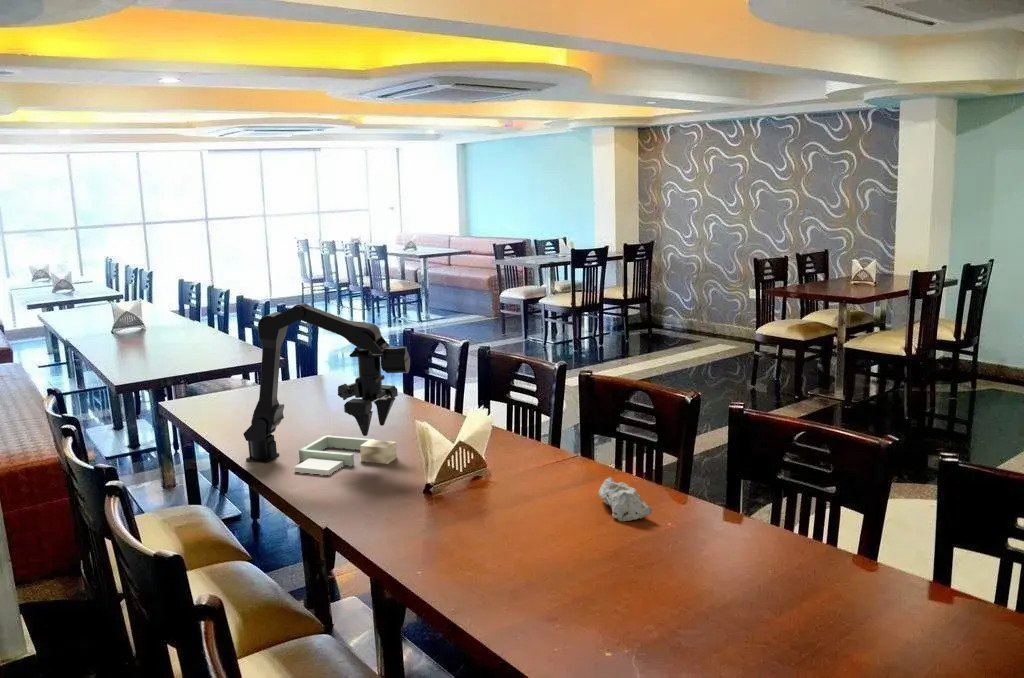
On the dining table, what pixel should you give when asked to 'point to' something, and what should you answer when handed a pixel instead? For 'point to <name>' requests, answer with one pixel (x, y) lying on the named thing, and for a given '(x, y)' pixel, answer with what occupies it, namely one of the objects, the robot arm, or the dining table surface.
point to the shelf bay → (332, 441)
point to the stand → (318, 466)
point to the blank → (378, 451)
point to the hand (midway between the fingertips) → (373, 430)
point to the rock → (623, 501)
